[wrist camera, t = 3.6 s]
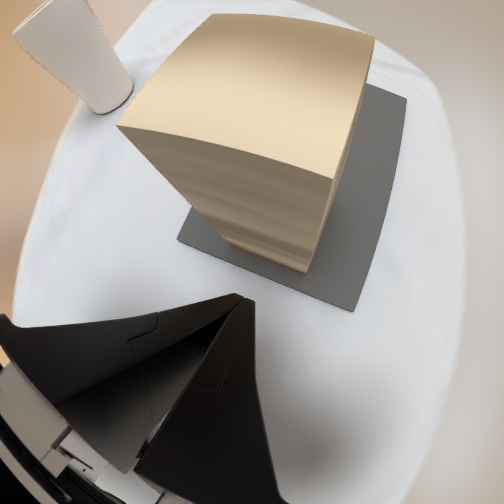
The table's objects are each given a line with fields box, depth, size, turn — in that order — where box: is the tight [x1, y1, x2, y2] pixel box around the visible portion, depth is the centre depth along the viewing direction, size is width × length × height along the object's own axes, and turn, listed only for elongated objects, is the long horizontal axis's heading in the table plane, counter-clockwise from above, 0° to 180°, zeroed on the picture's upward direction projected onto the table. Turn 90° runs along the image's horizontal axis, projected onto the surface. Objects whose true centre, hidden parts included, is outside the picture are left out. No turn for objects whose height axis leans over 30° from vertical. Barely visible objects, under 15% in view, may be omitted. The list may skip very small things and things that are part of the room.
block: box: [115, 14, 375, 275], centre depth 11 cm, size 5×5×12 cm
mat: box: [177, 83, 407, 312], centre depth 18 cm, size 18×12×1 cm, turn 157°
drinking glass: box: [12, 0, 133, 114], centre depth 16 cm, size 7×7×15 cm
